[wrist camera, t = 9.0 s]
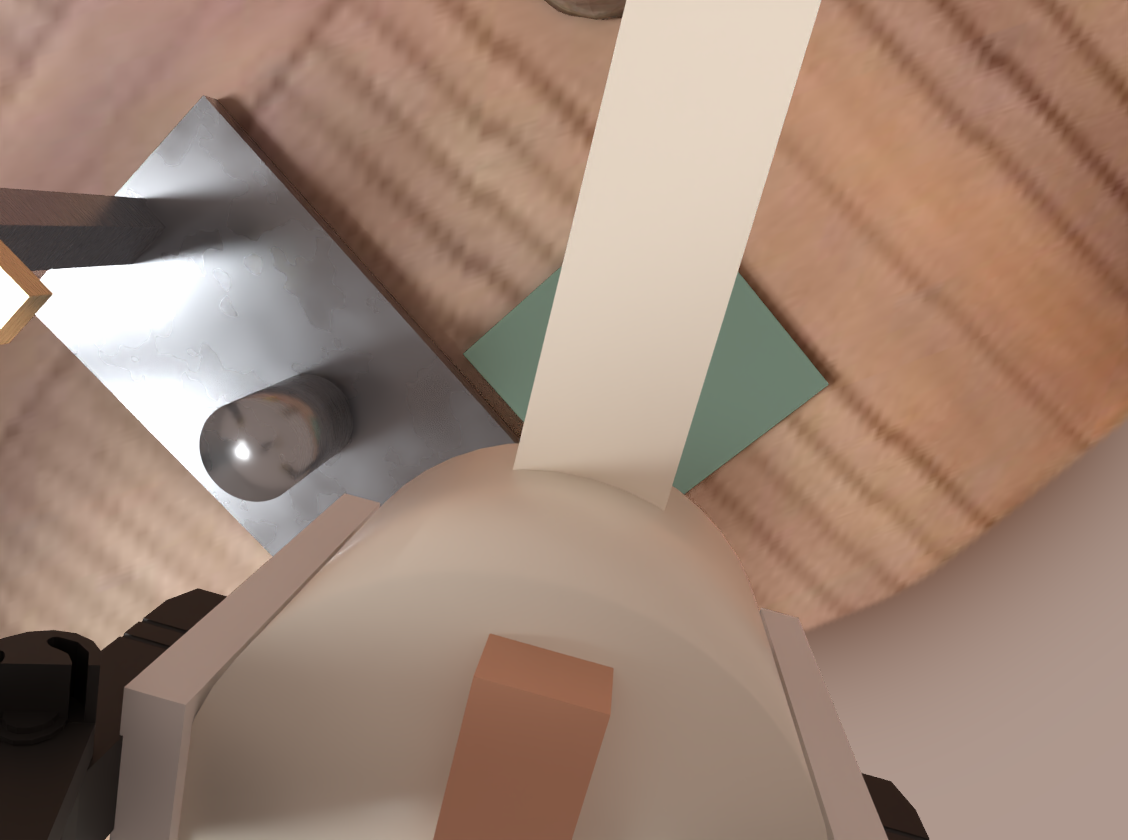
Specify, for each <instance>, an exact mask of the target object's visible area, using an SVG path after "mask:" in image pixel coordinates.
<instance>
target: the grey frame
mask: <svg viewBox="0 0 1128 840" xmlns="http://www.w3.org/2000/svg"><path fill="white" fill-rule="evenodd" d="M35 270H48V271H47V272H46V273H45V275H44V276H43V277H42V278H41V279H40V280H39V279H38V278H37V277H36V276H35V275H34V274H33V273H32V272H31V271H35ZM34 315H36V316H37V317H38V318H39V319H40V320H41V321H42V322H43V323H44V324H45V325H46V326H47V327H48V328H49V329H50V330H51V331H52V332H53V333H54V334H55V335H56V336H57V337H58V338H59V339H60V340H61V341H62V342H63V343H64V344H65V345H66V346H67V347H68V348H69V349H70V350H71V352H72V353H73V354H74V355H75V356H76V357H77V358H78V359H79V360H80V361H81V362H82V363H83V364H84V365H85V366H86V367H87V368H88V369H89V370H90V371H91V372H92V373H93V374H94V375H95V376H96V377H97V378H98V379H99V380H100V381H101V382H102V383H103V384H104V385H105V386H106V387H107V388H108V389H109V390H110V391H111V392H112V393H113V394H114V395H115V396H116V397H117V398H118V399H119V400H120V401H121V402H122V403H123V404H124V405H125V407H126V408H127V409H128V410H129V411H130V412H131V413H132V414H133V415H134V416H135V417H136V418H137V419H138V420H139V421H140V422H141V423H142V424H143V425H144V426H145V427H146V428H147V429H148V430H149V431H150V432H151V433H152V434H153V435H154V436H155V437H156V438H157V439H158V440H159V441H160V442H161V443H162V444H163V445H164V446H165V447H166V448H167V449H168V450H169V451H170V452H171V453H172V454H173V455H174V456H175V457H176V458H177V459H178V460H179V461H180V463H181V464H182V465H183V466H184V467H185V468H186V469H187V470H188V471H189V472H190V473H191V474H192V475H193V476H194V477H195V478H196V479H197V480H198V481H199V482H200V483H201V484H202V485H203V486H204V487H205V488H206V489H207V490H208V491H209V492H210V493H211V494H212V495H213V496H214V497H215V498H216V499H217V500H218V501H219V502H220V503H221V504H222V505H223V506H224V507H225V508H226V509H227V510H228V511H229V512H230V513H231V514H232V515H233V516H234V518H235V519H236V520H237V521H238V522H239V523H240V524H241V525H242V526H243V527H244V528H245V529H246V530H247V531H248V532H249V533H250V534H251V535H252V536H253V537H254V538H255V539H256V540H257V541H258V542H259V543H260V544H261V545H262V546H263V547H264V548H265V549H266V550H267V551H268V552H269V553H270V554H271V555H272V556H274V555H275V554H276V553H277V552H278V551H280V550H281V549H282V548H283V547H284V546H285V545H286V544H288V543H289V542H290V541H291V540H292V539H293V538H294V537H295V536H297V535H298V534H299V533H300V532H301V531H302V530H303V529H305V528H306V527H307V526H308V525H309V524H310V523H311V522H313V521H314V520H315V519H316V518H317V517H318V516H319V515H320V514H322V513H323V512H324V511H325V510H326V509H327V508H328V507H330V506H331V505H332V504H333V503H334V502H335V501H336V500H338V499H339V498H340V497H341V496H342V495H343V494H344V493H346V494H349V495H353V496H357V497H360V498H364V499H368V500H371V501H375V502H378V503H380V507H381V506H382V505H383V504H384V503H385V502H386V501H387V500H388V499H389V498H390V497H391V496H392V495H394V494H395V493H396V492H397V491H398V490H399V489H400V488H401V487H402V486H404V485H405V484H406V483H408V482H409V481H411V480H412V479H414V478H415V477H417V476H418V475H420V474H421V473H423V472H424V471H426V470H428V469H430V468H432V467H434V466H436V465H438V464H440V463H442V462H444V461H446V460H448V459H451V458H453V457H456V456H459V455H462V454H465V453H468V452H472V451H475V450H478V449H482V448H488V447H493V446H499V445H504V444H514V443H519V442H520V439H519V438H518V436H517V435H516V434H515V433H514V432H513V431H512V430H511V429H510V427H509V426H508V425H507V424H506V423H505V422H504V421H503V420H502V419H501V417H500V416H499V415H498V414H497V413H496V412H495V411H494V410H493V408H492V407H491V406H490V405H489V404H488V403H487V402H486V401H485V400H484V398H483V397H482V396H481V395H480V394H479V393H478V392H477V391H476V389H475V388H474V387H473V386H472V385H471V384H470V383H469V382H468V381H467V379H466V378H465V377H464V376H463V375H462V374H461V373H460V372H459V370H458V369H457V368H456V367H455V366H454V365H453V364H452V363H451V361H450V360H449V359H448V358H447V357H446V356H445V355H444V354H443V353H442V351H441V350H440V349H439V348H438V347H437V346H436V345H435V344H434V342H433V341H432V340H431V339H430V338H429V337H428V336H427V335H426V334H425V332H424V331H423V330H422V329H421V328H420V327H419V326H418V325H417V323H416V322H415V321H414V320H413V319H412V318H411V317H410V316H409V315H408V313H407V312H406V311H405V310H404V309H403V308H402V307H401V306H400V304H399V303H398V302H397V301H396V300H395V299H394V298H393V297H392V295H391V294H390V293H389V292H388V291H387V290H386V289H385V288H384V287H383V285H382V284H381V283H380V282H379V281H378V280H377V279H376V278H375V276H374V275H373V274H372V273H371V272H370V271H369V270H368V269H367V268H366V266H365V265H364V264H363V263H362V262H361V261H360V260H359V259H358V257H357V256H356V255H355V254H354V253H353V252H352V251H351V250H350V249H349V247H348V246H347V245H346V244H345V243H344V242H343V241H342V240H341V238H340V237H339V236H338V235H337V234H336V233H335V232H334V231H333V229H332V228H331V227H330V226H329V225H328V224H327V223H326V222H325V221H324V219H323V218H322V217H321V216H320V215H319V214H318V213H317V212H316V210H315V209H314V208H313V207H312V206H311V205H310V204H309V203H308V202H307V200H306V199H305V198H304V197H303V196H302V195H301V194H300V193H299V191H298V190H297V189H296V188H295V187H294V186H293V185H292V184H291V183H290V181H289V180H288V179H287V178H286V177H285V176H284V175H283V174H282V172H281V171H280V170H279V169H278V168H277V167H276V166H275V165H274V163H273V162H272V161H271V160H270V159H269V158H268V157H267V156H266V155H265V153H264V152H263V151H262V150H261V149H260V148H259V147H258V146H257V144H256V143H255V142H254V141H253V140H252V139H251V138H250V137H249V136H248V134H247V133H246V132H245V131H244V130H243V129H242V128H241V127H240V125H239V124H238V123H237V122H236V121H235V120H234V119H233V118H232V117H231V115H230V114H229V113H228V112H227V111H226V110H225V109H224V108H223V106H222V105H221V104H220V103H219V102H218V101H217V100H216V99H213V98H210V97H207V96H204V95H203V96H202V98H201V99H200V100H199V101H198V102H197V103H196V104H195V105H194V107H193V108H192V109H191V110H190V111H189V112H188V113H187V114H186V116H185V117H184V118H183V119H182V120H181V121H180V122H179V123H178V125H177V126H176V127H175V128H174V129H173V130H172V131H171V133H170V134H169V135H168V136H167V137H166V138H165V139H164V140H163V142H162V143H161V144H160V145H159V146H158V147H157V148H156V149H155V151H154V152H153V153H152V154H151V155H150V156H149V157H148V158H147V160H146V161H145V162H144V163H143V164H142V165H141V166H140V167H139V169H138V170H137V171H136V172H135V173H134V174H133V175H132V176H131V178H130V179H129V180H128V181H127V182H126V183H125V184H124V186H123V187H122V188H121V189H120V190H119V191H118V192H117V193H116V195H115V196H104V195H90V194H77V193H63V192H49V191H35V190H21V189H8V188H0V345H2V344H7V343H10V342H11V341H12V340H13V338H14V337H15V336H16V335H17V334H18V333H19V332H20V331H21V330H22V328H23V327H24V326H25V325H26V324H27V323H28V322H29V321H30V320H31V318H32V317H33V316H34ZM380 507H379V508H380Z"/></svg>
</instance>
